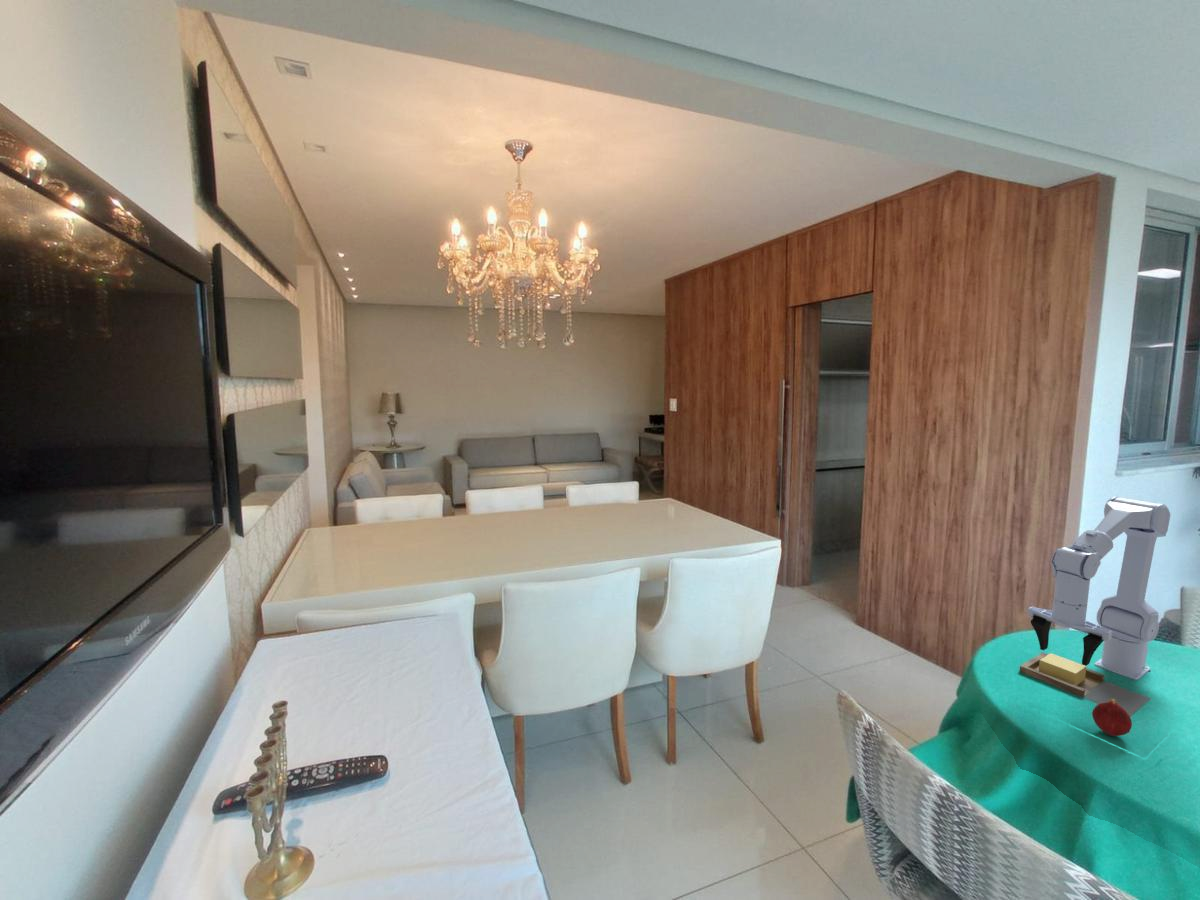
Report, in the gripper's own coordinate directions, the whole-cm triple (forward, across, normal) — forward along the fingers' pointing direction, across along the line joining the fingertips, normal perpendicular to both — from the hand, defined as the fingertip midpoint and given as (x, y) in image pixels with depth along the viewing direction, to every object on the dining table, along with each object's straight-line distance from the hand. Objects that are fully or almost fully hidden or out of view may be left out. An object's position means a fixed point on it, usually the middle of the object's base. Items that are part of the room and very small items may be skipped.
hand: (1064, 656), depth 120 cm
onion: (+10, +11, -8) cm, 17 cm away
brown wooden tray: (+10, -3, +9) cm, 13 cm away
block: (+9, -3, +9) cm, 13 cm away
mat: (+10, +7, +9) cm, 15 cm away
